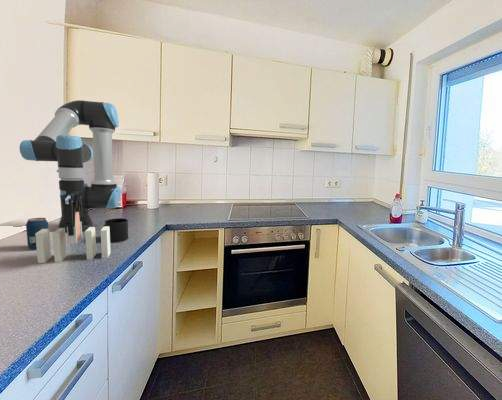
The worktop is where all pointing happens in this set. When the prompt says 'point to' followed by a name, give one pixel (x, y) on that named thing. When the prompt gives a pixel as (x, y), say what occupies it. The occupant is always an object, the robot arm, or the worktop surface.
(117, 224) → the mug
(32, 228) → the soda can
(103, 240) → the domino
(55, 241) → the domino
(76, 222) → the domino
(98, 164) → the robot arm
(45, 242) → the domino
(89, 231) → the domino
